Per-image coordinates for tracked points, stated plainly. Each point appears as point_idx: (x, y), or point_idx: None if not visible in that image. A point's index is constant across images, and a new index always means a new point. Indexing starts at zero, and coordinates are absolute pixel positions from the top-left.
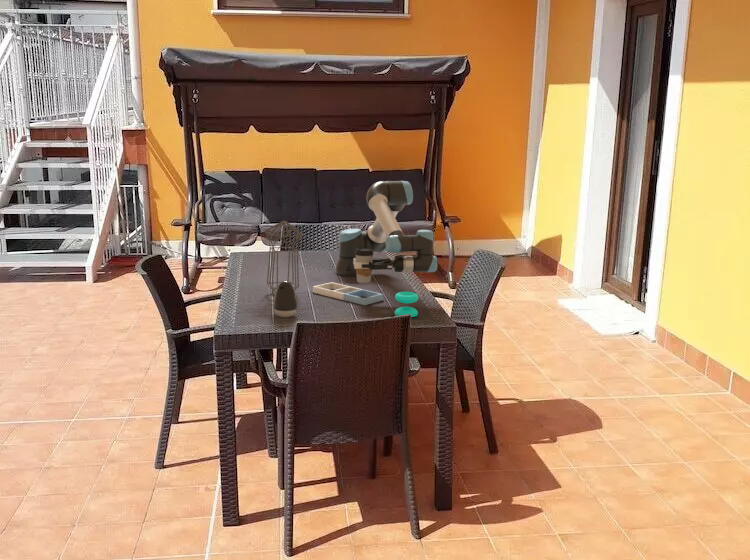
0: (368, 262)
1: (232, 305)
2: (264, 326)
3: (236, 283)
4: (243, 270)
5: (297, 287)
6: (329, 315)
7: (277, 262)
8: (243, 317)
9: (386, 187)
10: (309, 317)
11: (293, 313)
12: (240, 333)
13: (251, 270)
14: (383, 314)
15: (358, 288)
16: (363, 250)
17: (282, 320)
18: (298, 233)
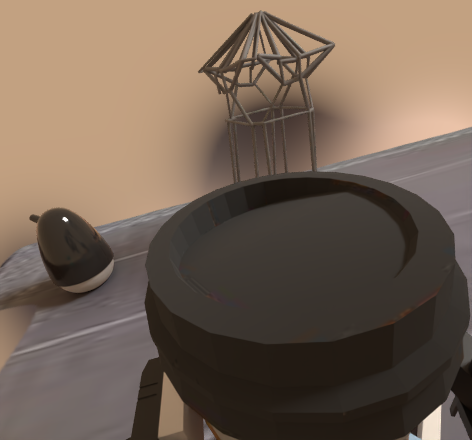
0: (180, 428)
1: (183, 207)
2: (30, 275)
3: (326, 169)
4: (423, 147)
5: None
6: (51, 380)
7: (230, 150)
8: (106, 237)
9: None
10: (56, 329)
11: (66, 290)
12: (8, 262)
13: (436, 149)
14: None
15: (437, 414)
16: (268, 227)
17: (58, 287)
18: (276, 54)
